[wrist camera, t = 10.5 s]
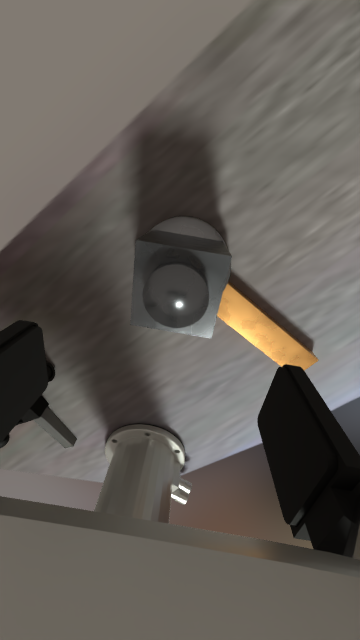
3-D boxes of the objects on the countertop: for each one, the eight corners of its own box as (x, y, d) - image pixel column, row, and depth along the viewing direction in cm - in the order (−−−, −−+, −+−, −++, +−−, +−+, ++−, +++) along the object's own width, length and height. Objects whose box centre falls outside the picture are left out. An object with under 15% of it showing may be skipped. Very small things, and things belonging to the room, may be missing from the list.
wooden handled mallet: (334, 335, 26) (360, 361, 22) (271, 382, 30) (284, 412, 25) (176, 193, 21) (170, 191, 17) (123, 270, 25) (107, 284, 20)
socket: (222, 241, 21) (233, 259, 14) (208, 304, 24) (212, 345, 17) (153, 229, 21) (131, 242, 14) (147, 294, 24) (126, 331, 17)
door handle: (103, 443, 35) (26, 364, 28) (4, 468, 39) (-83, 407, 32) (109, 423, 37) (41, 347, 30) (17, 449, 42) (-60, 389, 35)
